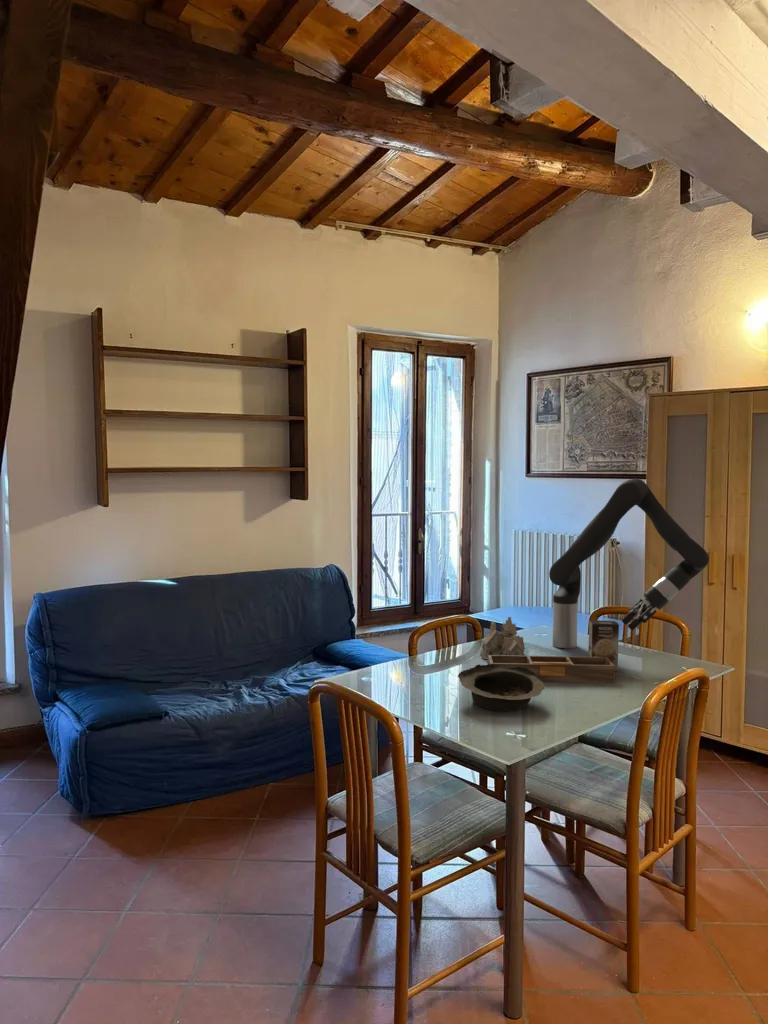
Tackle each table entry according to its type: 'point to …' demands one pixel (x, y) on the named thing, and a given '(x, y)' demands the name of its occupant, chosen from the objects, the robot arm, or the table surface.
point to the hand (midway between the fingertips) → (626, 625)
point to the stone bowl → (501, 686)
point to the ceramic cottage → (502, 641)
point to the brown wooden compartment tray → (560, 667)
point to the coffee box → (604, 640)
